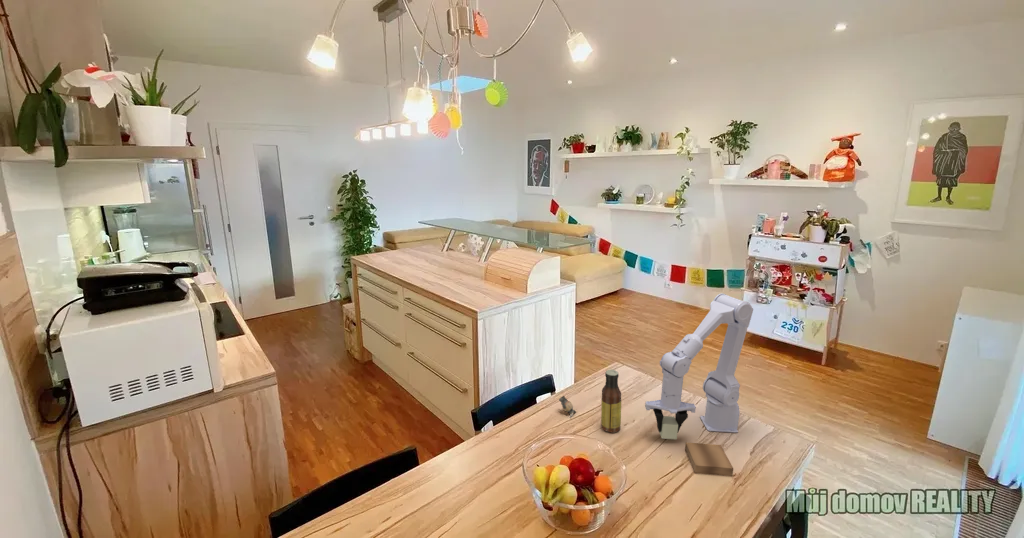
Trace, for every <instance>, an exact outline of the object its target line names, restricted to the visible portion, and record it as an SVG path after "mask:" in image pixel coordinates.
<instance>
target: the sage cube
mask: <svg viewBox="0 0 1024 538" xmlns="http://www.w3.org/2000/svg"><path fill="white" fill-rule="evenodd" d="M663 416H664V417H663V421H662V430H661V432H659V431H658V432H659V435H660V438H661V439H666V440H678V433H679V432H678V423H677V421H676V419H675V415H674V416H672V415H671V416H670V415H663ZM677 432H678V433H677Z"/></svg>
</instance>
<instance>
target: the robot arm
mask: <svg viewBox="0 0 1024 538" xmlns="http://www.w3.org/2000/svg"><path fill="white" fill-rule="evenodd" d="M753 312H754V308H753V306H752V305H751V303H749V302H748V301H745V300H742V299H739V298H736V297H733V296H730V295H728V294H725V293H724V292H723V293H718V294H717V295H716V296H715V297H714V298H713V300H712V301H711V302H710V304H709V311H708V313H707V314H706V315H705V317H704V318H703V319H702V321H701V322H700V323H699V325H698V326H697V328H696V329H695V330H694V332H693V333H688V334H685V336H684V337H683V338H682V339H681V340H680V341H679V343H678V344H677V345H676V346H675V347H674V349H672V350H671V351H669V352H668V351H667V352H666V353H664V354H663V355H662V357H661V360H659V366H660V367H661V373H662V384H661V394H660V399H657V400H656V399H655V400H646V401H645V403H644V406H645V407H644V408H645V410H646V411H650V410H652V411H653V412H654V416H655V419H656V425H657V431H658V432H661V430H662V421H663V417H664V416H665V415H664V413H663V411H666V412H669V413H670V414H674V417H675V419H676V421H677V423H678V432H677V434H678V433H679V431H680V430H681V427H682V425H683V424H684V422H685V421H686V420H687V419H688V417H689V414H688V412H691V413H692V414H693V413H696V410H697V409H696V405H695V404H694V403H691V402H685V401H682V394H683V386H684V385H683V383H684V376H685V375H686V374H687V373H688V372H689V371H690V366H691V365H692V360H693V359H694V358H695V357H696V356H697V355H698V354H699V353H700V352H701V350H702V349H703V347H704V340H706V339H707V338H708V337H709V336H710V335H711V334H712V333H713V332H715V330H716V329H717V328H718V327H719V326H720V325H721V324H727V328H726V332H725V335H724V339H723V343H722V347H721V351H720V353H719V357H718V361H717V365H716V368H715V370H711V371H709V372H707V375H706V378H705V379H704V381H703V383H702V391H703V392H704V393H705V397H706V406H705V413H704V415H699V418H700V420H701V422H702V423H703V425H704V427H705V428H706V430H707V431H708V432H720V433H721V432H722V433H739V430H738V428H739V419H740V411H741V410H740V405H739V403H738V401H739V399H740V387H741V385H740V382H739V381H738V379H737V378H736V375H735V373H736V369H737V366H738V363H739V359H740V357H741V353H742V349H743V346H744V341H745V339H746V334H747V330H748V328H749V326H750V323H751V320H752V316H753Z"/></svg>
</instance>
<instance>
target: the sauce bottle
mask: <svg viewBox="0 0 1024 538" xmlns="http://www.w3.org/2000/svg"><path fill="white" fill-rule="evenodd" d="M604 373H605V374H604V375H605V384H604V385H603V388H602V389H601V405H600V406H601V409H600V410H601V411H600V412H601V414H600V415H601V417H600V418H601V420H600V423H601V424H600V425H601V428H602V430H603V431H606V432H608V433H612V434H613V433H617V432H619V431H620V430H621V425H622V424H621V423H622V392H621V389H620V387H619V381H618V380H619V376H620V375H619V372H618V370H616V369H607V370H605V372H604Z"/></svg>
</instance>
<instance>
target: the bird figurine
mask: <svg viewBox="0 0 1024 538" xmlns="http://www.w3.org/2000/svg"><path fill="white" fill-rule="evenodd" d="M558 401H559V402H560V404H561V405H562V409H563V411H565V412H567V413H568V414H570V415H568V416H566V418H569V419H570V420H571V419H572V418H573V415H574V414H576V412H577V411H576V409H574V406H573V403H572V402H571V401H569V400H568V399H567V398H566V397H565V396H561V397H560V398H559V399H558Z"/></svg>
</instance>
